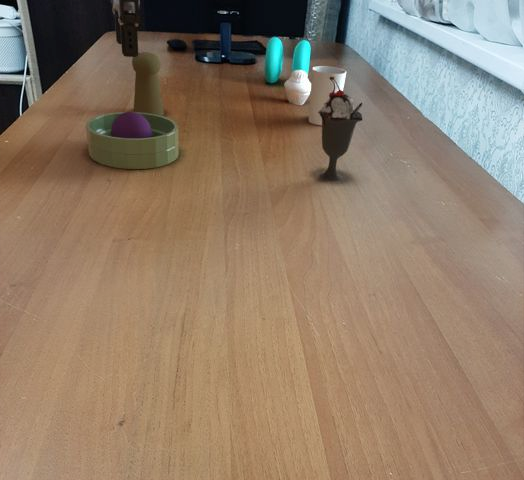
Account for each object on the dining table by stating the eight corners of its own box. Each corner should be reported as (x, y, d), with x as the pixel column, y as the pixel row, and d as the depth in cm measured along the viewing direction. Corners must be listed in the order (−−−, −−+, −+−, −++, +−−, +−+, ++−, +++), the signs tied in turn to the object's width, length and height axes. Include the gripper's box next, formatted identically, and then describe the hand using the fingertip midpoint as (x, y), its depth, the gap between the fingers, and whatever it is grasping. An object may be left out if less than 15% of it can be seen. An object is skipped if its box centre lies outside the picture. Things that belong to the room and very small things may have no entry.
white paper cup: (334, 130, 112) (342, 75, 106) (302, 125, 114) (308, 70, 108) (341, 122, 117) (349, 69, 111) (310, 116, 119) (317, 64, 113)
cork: (167, 119, 110) (165, 56, 104) (136, 120, 108) (132, 56, 102) (160, 110, 115) (158, 49, 108) (130, 111, 113) (126, 49, 106)
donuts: (303, 91, 135) (308, 44, 129) (262, 86, 136) (265, 39, 130) (307, 82, 143) (312, 37, 137) (268, 77, 144) (271, 33, 138)
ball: (129, 163, 89) (124, 121, 85) (106, 153, 93) (100, 112, 89) (162, 153, 93) (158, 112, 89) (138, 143, 96) (133, 104, 93)
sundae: (302, 172, 93) (314, 72, 84) (339, 170, 95) (354, 72, 86) (319, 188, 88) (334, 84, 79) (358, 185, 90) (376, 83, 81)
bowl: (124, 179, 85) (121, 145, 82) (72, 152, 93) (68, 120, 90) (196, 160, 94) (196, 129, 91) (143, 136, 101) (141, 107, 98)
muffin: (279, 104, 125) (282, 69, 120) (287, 98, 129) (290, 64, 125) (306, 108, 123) (310, 73, 119) (313, 102, 128) (317, 68, 124)
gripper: (86, -93, 78) (97, 39, 88) (92, -91, 67) (104, 60, 77) (141, -88, 80) (146, 41, 90) (156, -85, 70) (160, 61, 79)
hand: (127, 49), depth 84 cm, fingers open, 8 cm apart
